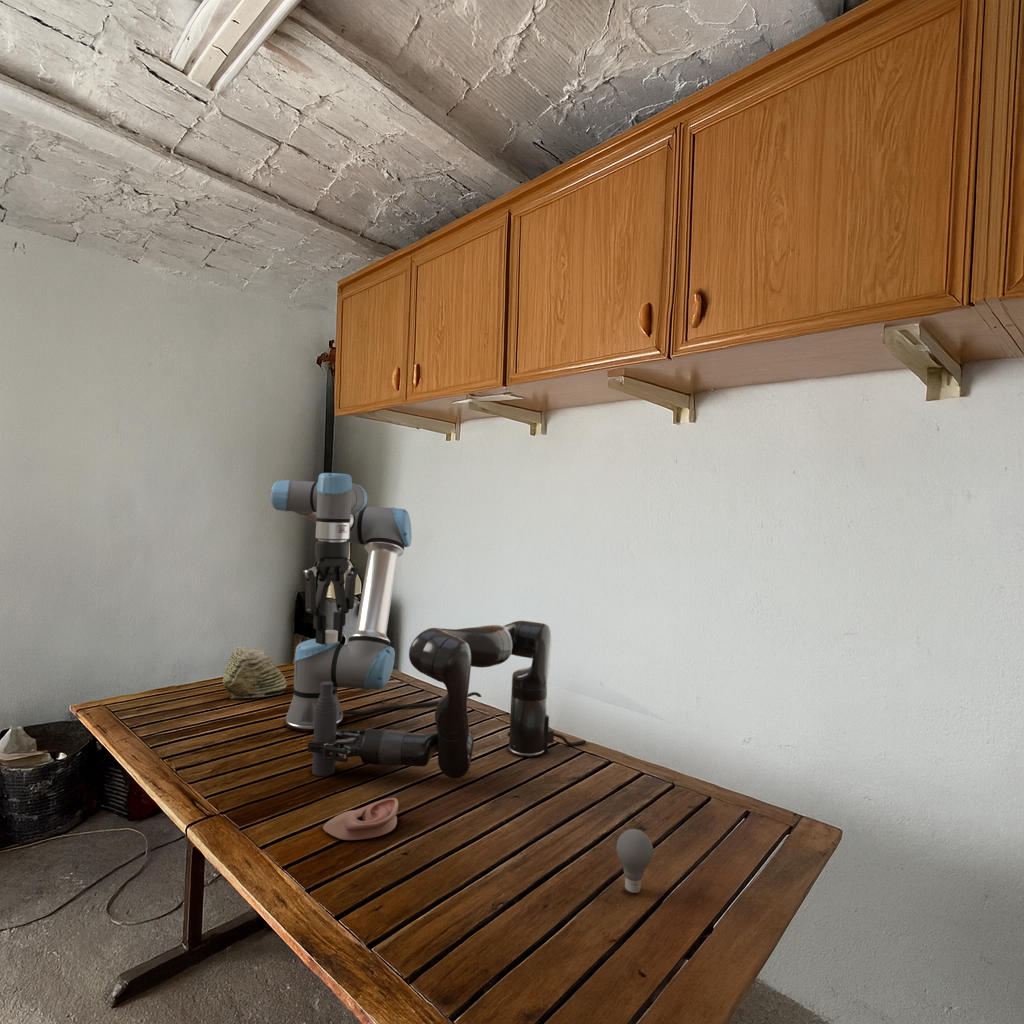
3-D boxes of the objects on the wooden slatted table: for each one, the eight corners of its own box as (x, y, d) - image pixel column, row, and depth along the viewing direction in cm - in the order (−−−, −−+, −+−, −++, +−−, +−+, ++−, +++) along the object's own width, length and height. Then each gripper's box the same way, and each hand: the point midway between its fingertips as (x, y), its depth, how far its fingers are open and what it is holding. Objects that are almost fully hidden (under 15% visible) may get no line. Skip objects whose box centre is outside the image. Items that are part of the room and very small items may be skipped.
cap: (338, 643, 144) (338, 633, 144) (320, 643, 143) (321, 633, 143) (336, 639, 148) (337, 629, 148) (319, 640, 147) (320, 629, 147)
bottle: (323, 778, 143) (326, 687, 142) (307, 772, 145) (310, 683, 145) (339, 770, 147) (342, 682, 146) (323, 765, 149) (327, 678, 149)
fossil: (218, 695, 195) (220, 647, 195) (278, 685, 208) (279, 640, 207) (228, 703, 189) (230, 653, 188) (289, 692, 201) (290, 645, 201)
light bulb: (610, 879, 108) (613, 822, 108) (644, 879, 109) (647, 822, 109) (619, 902, 102) (622, 840, 102) (655, 901, 103) (658, 840, 103)
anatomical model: (315, 814, 118) (343, 787, 129) (314, 835, 118) (343, 807, 129) (382, 825, 115) (405, 796, 127) (381, 846, 116) (404, 816, 127)
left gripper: (308, 542, 136) (304, 650, 137) (372, 540, 149) (369, 639, 150) (290, 540, 141) (286, 644, 142) (354, 538, 154) (350, 634, 154)
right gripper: (394, 720, 152) (325, 715, 153) (376, 743, 137) (300, 737, 139) (393, 751, 152) (324, 746, 153) (375, 777, 138) (299, 771, 139)
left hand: (328, 641), depth 146 cm, fingers closed on cap, 4 cm apart
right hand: (313, 741), depth 146 cm, fingers closed on bottle, 5 cm apart
